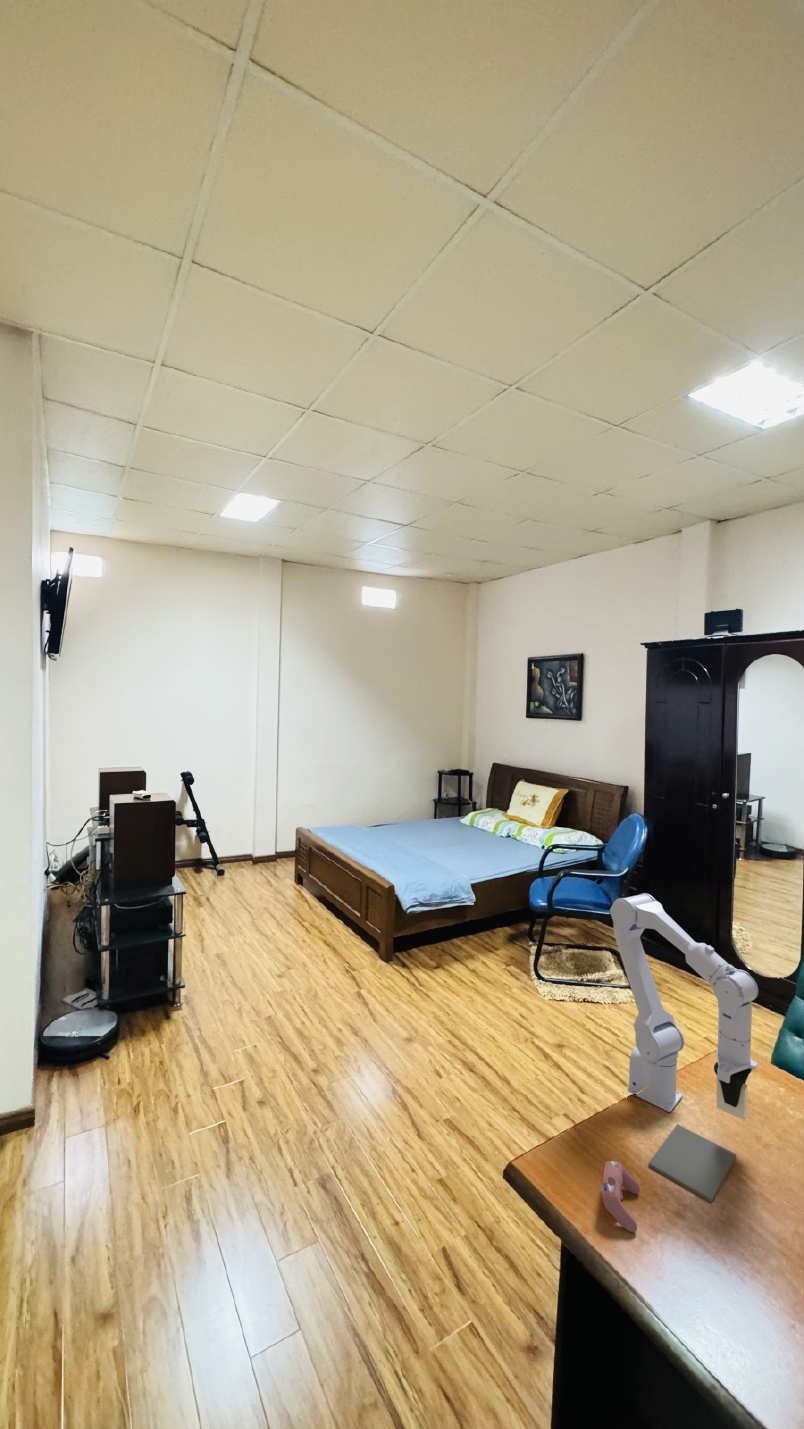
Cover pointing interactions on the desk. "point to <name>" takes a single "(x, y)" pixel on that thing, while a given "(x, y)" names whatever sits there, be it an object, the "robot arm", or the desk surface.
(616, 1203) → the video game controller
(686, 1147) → the mat
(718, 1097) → the block
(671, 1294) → the desk surface
